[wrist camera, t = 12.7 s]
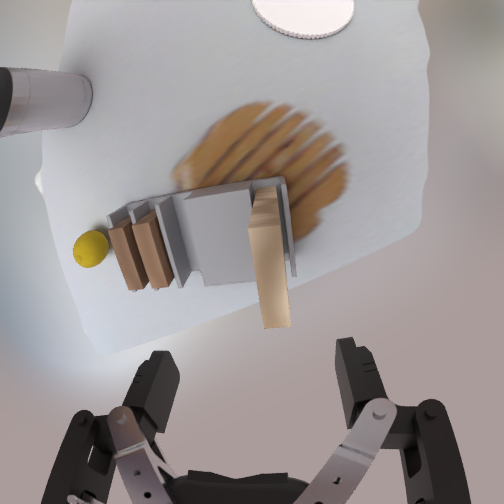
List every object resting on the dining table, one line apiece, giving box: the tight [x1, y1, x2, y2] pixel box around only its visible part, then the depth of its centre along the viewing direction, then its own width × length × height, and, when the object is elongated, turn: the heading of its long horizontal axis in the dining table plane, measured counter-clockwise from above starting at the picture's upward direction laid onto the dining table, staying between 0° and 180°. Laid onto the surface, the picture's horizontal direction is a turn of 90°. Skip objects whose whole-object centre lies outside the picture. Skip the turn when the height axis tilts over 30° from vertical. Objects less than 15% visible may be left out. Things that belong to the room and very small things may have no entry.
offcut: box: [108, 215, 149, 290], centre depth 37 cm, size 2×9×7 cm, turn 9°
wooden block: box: [248, 186, 291, 329], centre depth 30 cm, size 2×10×16 cm, turn 8°
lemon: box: [73, 231, 109, 268], centre depth 39 cm, size 6×6×8 cm
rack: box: [106, 176, 297, 292], centre depth 37 cm, size 24×12×6 cm, turn 99°
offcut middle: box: [132, 209, 175, 288], centre depth 36 cm, size 2×9×7 cm, turn 9°
